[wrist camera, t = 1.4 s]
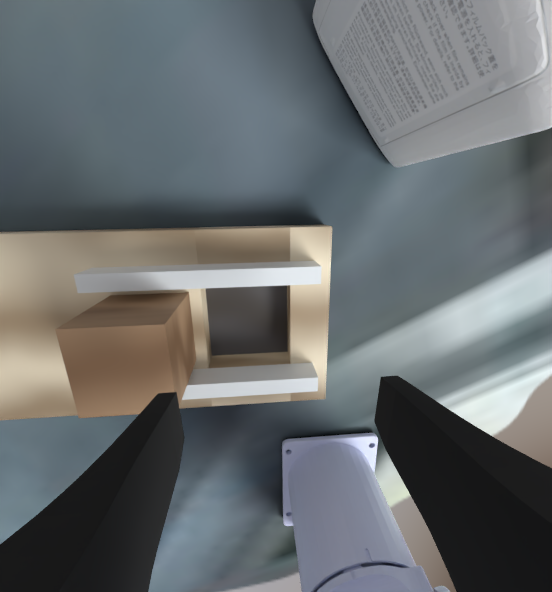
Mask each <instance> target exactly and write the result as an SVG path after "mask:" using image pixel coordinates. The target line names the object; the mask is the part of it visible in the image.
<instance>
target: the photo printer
mask: <svg viewBox="0 0 552 592" xmlns="http://www.w3.org/2000/svg"><path fill="white" fill-rule="evenodd" d="M312 16H313V22H314V26H315V28H316V31H317V34H318V37H319V39H320V42H321V44H322V46H323V48H324V50H325V52H326V54H327V56H328V58H329V60H330V62H331V63H332V65H333V67H334V69H335V71H336V73H337V75H338V77H339V78H340V80H341V82H342V84H343V86H344V88H345V89H346V91H347V93H348V95H349V97H350V98H351V100H352V102H353V104H354V106H355V107H356V109H357V111H358V113H359V114H360V116H361V118H362V120H363V122H364V123H365V125H366V127H367V128H368V130H369V132H370V134H371V136H372V137H373V139H374V140H375V142H376V144H377V145H378V147H379V148H380V150H381V151H382V153H383V154H384V156H385V157H386V158H387V160H388V161H389V162H390V163H391V164H392V165H393V166H395V167H402V166H406V165H410V164H413V163H417V162H421V161H425V160H429V159H433V158H437V157H441V156H445V155H449V154H452V153H456V152H460V151H464V150H468V149H472V148H476V147H480V146H484V145H488V144H492V143H496V142H500V141H503V140H508V139H512V138H516V137H519V136H524V135H528V134H531V133H535V132H539V131H543V130H546V129H548V128H551V127H552V0H316V3H315V6H314V10H313V15H312Z"/></svg>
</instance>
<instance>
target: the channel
mask: <svg viewBox="0 0 552 592" xmlns="http://www.w3.org/2000/svg"><path fill="white" fill-rule="evenodd" d="M321 268H322V266H320V265H319V264H318V263H317V262H316V261H287V262H255V263H224V264H192V265H161V266H129V267H97V268H90V269H87V270H85V271H82V272H79V273H77V274H74V279H75V283H76V287H77V292H78V293H96V292H122V291H149V290H176V289H202V288H229V287H256V286H282V285H309V284H321ZM314 391H318V376H317V373H316V371H315V368H314V365H313V363H295V364H277V365H259V366H242V367H224V368H207V369H193V371H192V373H191V376H190V379H189V381H188V384H187V387H186V389H185V392H184V395H183V398H182V400H189V399H204V398H220V397H236V396H251V395H267V394H282V393H298V392H314Z"/></svg>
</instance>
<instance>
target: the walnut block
mask: <svg viewBox="0 0 552 592" xmlns="http://www.w3.org/2000/svg"><path fill="white" fill-rule="evenodd" d="M55 331H56V335H57V339H58V342H59V346H60V350H61V353H62V357H63V361H64V365H65V368H66V372H67V376H68V379H69V383H70V387H71V391H72V394H73V398H74V402H75V405H76V409H77V413H78V417H79V418H88V417H103V416H118V415H133V414H140V413H141V412H142V411H143V410H144V408H145V407H146V406H147V405H148V404H149V403H150V402H151V401H152V399H153V398H154V397H155V396H156V395H157V394H158V393H169V392H177V397H178V403H179V406H180V403H181V400H182V398H183V395H184V392H185V389H186V387H187V384H188V381H189V379H190V376H191V373H192V371H193V368H194V365H195V362H196V360H197V359H196V351H195V342H194V333H193V324H192V315H191V306H190V297H189V292H185V293H158V294H132V295H110V296H109V297H107V298H105V299H104V300H102V301H100V302H99V303H97V304H96V305H94V306H92V307H91V308H89V309H87V310H86V311H84V312H82V313H81V314H79V315H78V316H76V317H74V318H73V319H71V320H69V321H68V322H66V323H65V324H63V325H61V326H60V327H58V328H56V329H55Z"/></svg>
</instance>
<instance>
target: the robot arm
mask: <svg viewBox="0 0 552 592" xmlns="http://www.w3.org/2000/svg"><path fill="white" fill-rule="evenodd" d="M375 424H376V426H377V429H378V431H379V434H380V437H381V439H382V441H383V444H384V446H385V449H386V451H387V452H388V454H389V456H390V458H391V460H392V462H393V464H394V466H395V467H396V469H397V471H398V473H399V475H400V477H401V478H402V480H403V482H404V484H405V486H406V488H407V489H408V491H409V493H410V495H411V497H412V498H413V500H414V502H415V504H416V506H417V508H418V509H419V511H420V513H421V515H422V517H423V519H424V520H425V523H426V525H427V526H428V528H429V530H430V532H431V534H432V537H433V539H434V541H435V543H436V546H437V548H438V550H439V552H440V554H441V557H442V559H443V561H444V563H445V565H446V568H447V570H448V572H449V574H450V577H451V579H452V582H453V584H454V586H455V589H456V591H457V592H552V468H550V467H548V466H546V465H544V464H542V463H540V462H538V461H536V460H534V459H532V458H530V457H529V456H527V455H525V454H523V453H521V452H519V451H517V450H515V449H514V448H511V447H510V446H508V445H506V444H504V443H502V442H501V441H499V440H497V439H495V438H494V437H492V436H490V435H489V434H487V433H485V432H484V431H482V430H480V429H479V428H477V427H475V426H474V425H472V424H471V423H469V422H467V421H466V420H464V419H463V418H461V417H459V416H458V415H456V414H455V413H453V412H452V411H450V410H449V409H447V408H446V407H444V406H442V405H441V404H439V403H438V402H436V401H435V400H433V399H432V398H431V397H429V396H428V395H426V394H425V393H423V392H422V391H420V390H419V389H417V388H416V387H414V386H413V385H411V384H410V383H408V382H407V381H405V380H403V379H402V378H400V377H398V376H386V377H381V380H380V387H379V394H378V400H377V407H376V414H375ZM183 443H184V433H183V427H182V421H181V415H180V409H179V403H178V397H177V392H169V393H158V394H157V395H156V396H155V397H154V398H153V399H152V401H151V402H150V403H149V404H148V405H147V406H146V407H145V408H144V410H143V411H142V412H141V413H140V414H139V415H138V416H137V417H136V419H135V420H134V421H133V422H132V423H131V424H130V425H129V426H128V428H127V429H126V430H125V431H124V432H123V433H122V434H121V435H120V436H119V437H118V438H117V439H116V440H115V442H114V443H113V444H112V445H111V446H110V447H109V448H108V449H107V450H106V451H105V452H104V453H103V454H102V455H101V456H100V457H99V458H98V459H97V460H96V461H95V462H94V463H93V464H92V465H91V466H90V467H89V468H88V469H87V470H86V471H85V472H84V473H83V474H82V475H81V476H80V477H79V478H78V479H77V480H76V481H75V482H74V483H73V484H71V485H70V486H69V487H68V488H67V489H66V490H65V491H64V492H63V493H62V494H60V495H59V496H58V497H57V498H56V499H55V500H54V501H53V502H51V503H50V504H49V505H48V506H47V507H46V508H45V509H43V510H42V511H41V512H40V513H39V514H38V515H36V516H35V517H34V518H33V519H32V520H30V521H29V522H28V523H27V524H25V525H24V526H23V527H22V528H20V529H19V530H18V531H17V532H15V533H14V534H13V535H12V536H10V537H9V538H8V539H7V540H5V541H4V542H3V543H2V544H0V592H148V589H149V584H150V579H151V574H152V569H153V565H154V561H155V557H156V552H157V548H158V545H159V541H160V538H161V534H162V530H163V527H164V523H165V520H166V516H167V512H168V509H169V505H170V502H171V498H172V494H173V491H174V487H175V483H176V480H177V476H178V472H179V468H180V462H181V456H182V450H183ZM370 443H372V444H370ZM377 444H378V438H377V436H376V434H375V433H360V434H347V435H334V436H320V437H307V438H294V439H286V440H284V441H283V442H282V477H283V523H284V524H285V525H286V526H293V527H294V534H295V542H296V550H297V558H298V566H299V573H300V581H301V589H302V592H450V591H449V590H448V589H447V588H446V587H445V586H438V587H435V588H434V591H433V589H432V587H431V585H430V583H429V581H428V578H427V576H426V574H425V572H424V570H423V568H422V566H416V564H415V562H414V560H413V558H412V555H411V553H410V551H409V549H408V547H407V544H406V542H405V540H404V538H403V536H402V533H401V531H400V529H399V527H398V525H397V523H396V521H395V518H394V516H393V514H392V512H391V509H390V507H389V505H388V503H387V501H386V498H385V496H384V494H383V492H382V490H381V488H380V485H379V483H378V481H377V479H376V477H375V474H374V472H375V462H376V453H377ZM288 449H289V451H286V450H288Z"/></svg>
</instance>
